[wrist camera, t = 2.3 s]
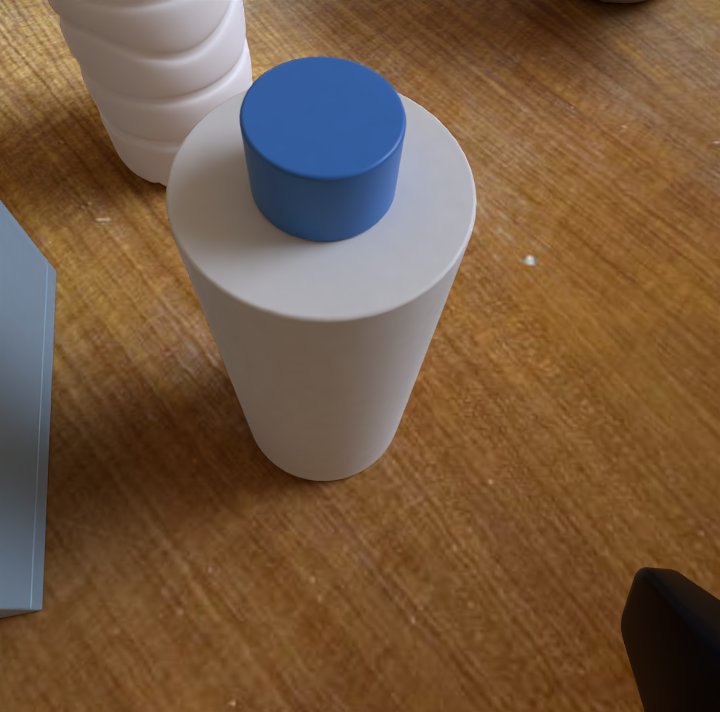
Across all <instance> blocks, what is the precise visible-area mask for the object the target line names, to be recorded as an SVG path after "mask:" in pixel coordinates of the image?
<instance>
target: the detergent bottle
mask: <svg viewBox="0 0 720 712" xmlns="http://www.w3.org/2000/svg"><path fill="white" fill-rule="evenodd" d="M476 203H477V202H476V190H475V184H474V180H473V176H472V172H471V168H470V166H469V164H468V161H467V159H466V156H465V154H464V153H463V151H462V149H461V147H460V146H459V144H458V142H457V141H456V140H455V138H454V137H453V136H452V134H451V133H450V132H449V131H448V129H447V128H446V127H445V126H444V125H443V124H442V123H441V122H440V121H439V120H438V119H437V118H436V117H434V116H433V115H432V114H431V113H429V112H428V111H427V110H425V109H424V108H423V107H422V106H420V105H418V104H417V103H415V102H413V101H412V100H410V99H409V98H407V97H405V96H403V95H401V94H399V93H397V92H396V91H395V89H394V88H393V87H392V85H391V84H390V83H389V82H388V81H387V80H386V79H384V78H383V77H382V76H381V75H379V74H378V73H376V72H375V71H373V70H371V69H370V68H367V67H365V66H363V65H361V64H358V63H355V62H353V61H349V60H345V59H340V58H334V57H307V58H300V59H296V60H291V61H288V62H285V63H282V64H280V65H278V66H276V67H274V68H272V69H270V70H268V71H267V72H265V73H264V74H263V75H261V76H260V77H259V78H258V79H257V80H256V81H255V82H254V83H253V84H252V85H251V87H250V88H249V89H247V90H245V91H243V92H241V93H238V94H236V95H234V96H232V97H231V98H229V99H227V100H226V101H224V102H222V103H221V104H219V105H218V106H216V107H215V108H214V109H213V110H211V111H210V112H209V113H207V114H206V115H205V116H204V117H203V118H202V119H201V120H200V121H199V122H198V123H197V124H196V125H195V126H194V127H193V128H192V130H191V131H190V132H189V133H188V135H187V136H186V137H185V139H184V140H183V142H182V144H181V145H180V147H179V149H178V151H177V152H176V155H175V157H174V160H173V163H172V165H171V168H170V172H169V177H168V182H167V187H166V207H167V214H168V220H169V224H170V227H171V230H172V233H173V236H174V239H175V241H176V244H177V246H178V249H179V251H180V254H181V256H182V259H183V261H184V264H185V266H186V269H187V271H188V274H189V276H190V279H191V281H192V284H193V287H194V289H195V292H196V294H197V297H198V299H199V302H200V304H201V307H202V309H203V312H204V314H205V317H206V319H207V322H208V324H209V327H210V329H211V332H212V334H213V337H214V339H215V342H216V344H217V347H218V349H219V352H220V354H221V357H222V359H223V362H224V364H225V367H226V369H227V372H228V375H229V377H230V380H231V382H232V385H233V387H234V390H235V392H236V395H237V397H238V400H239V402H240V405H241V407H242V410H243V412H244V415H245V417H246V420H247V422H248V425H249V427H250V430H251V432H252V435H253V437H254V439H255V441H256V443H257V445H258V446H259V448H260V449H261V451H262V452H263V453H264V454H265V456H266V457H267V458H268V459H269V460H270V461H271V462H273V463H274V464H275V465H276V466H277V467H279V468H281V469H282V470H284V471H285V472H287V473H290V474H292V475H294V476H297V477H300V478H303V479H308V480H314V481H332V480H339V479H343V478H347V477H350V476H352V475H355V474H357V473H359V472H361V471H363V470H365V469H366V468H368V467H369V466H370V465H372V464H373V463H374V462H375V461H377V460H378V459H379V458H380V457H381V456H382V454H383V453H384V452H385V451H386V449H387V448H388V446H389V445H390V443H391V441H392V440H393V437H394V435H395V433H396V430H397V428H398V425H399V422H400V420H401V417H402V414H403V412H404V409H405V407H406V404H407V401H408V399H409V396H410V394H411V391H412V388H413V386H414V383H415V380H416V378H417V375H418V373H419V370H420V367H421V365H422V362H423V360H424V357H425V354H426V352H427V349H428V346H429V344H430V341H431V339H432V336H433V333H434V331H435V328H436V326H437V323H438V320H439V318H440V315H441V312H442V310H443V307H444V305H445V302H446V299H447V297H448V294H449V292H450V289H451V286H452V284H453V281H454V278H455V276H456V273H457V271H458V268H459V265H460V263H461V260H462V258H463V255H464V252H465V250H466V247H467V244H468V242H469V239H470V237H471V234H472V230H473V226H474V222H475V215H476Z"/></svg>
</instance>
